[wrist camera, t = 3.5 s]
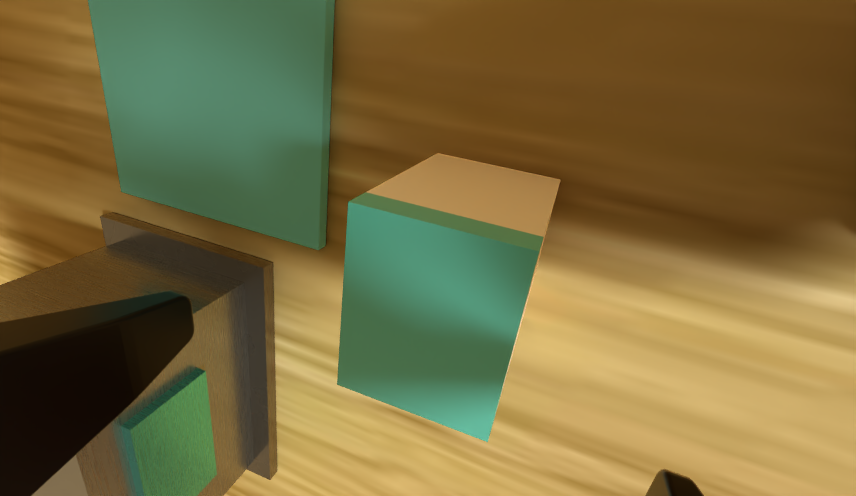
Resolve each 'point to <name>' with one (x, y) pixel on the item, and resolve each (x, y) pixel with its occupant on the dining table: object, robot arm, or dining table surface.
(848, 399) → the dining table surface
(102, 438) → the junction box
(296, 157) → the mat
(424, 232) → the fuse block
